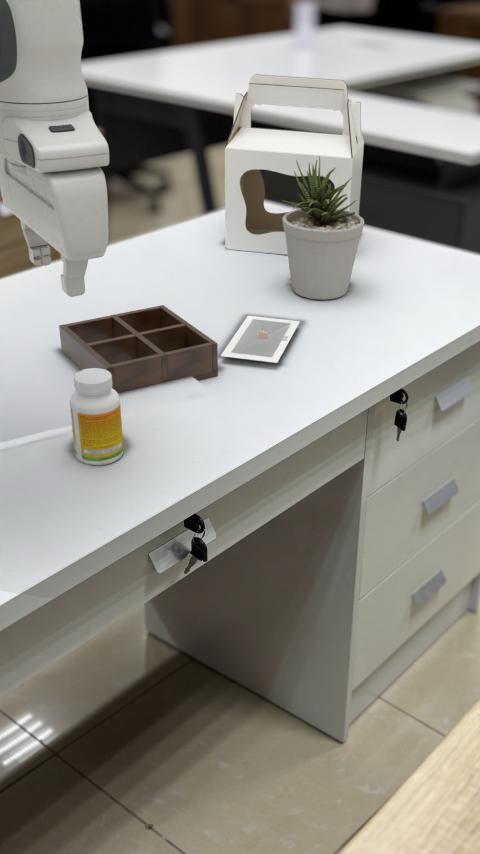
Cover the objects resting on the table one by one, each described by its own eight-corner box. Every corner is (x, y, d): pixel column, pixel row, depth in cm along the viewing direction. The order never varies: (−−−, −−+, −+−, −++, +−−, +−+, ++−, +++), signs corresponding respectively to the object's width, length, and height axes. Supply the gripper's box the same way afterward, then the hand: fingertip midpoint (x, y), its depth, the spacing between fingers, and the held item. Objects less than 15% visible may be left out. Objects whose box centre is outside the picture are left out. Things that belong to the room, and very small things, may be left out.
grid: (109, 402, 117) (107, 368, 115) (62, 357, 128) (58, 325, 125) (218, 375, 124) (217, 343, 122) (164, 335, 135) (163, 304, 133)
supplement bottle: (133, 455, 106) (128, 376, 101) (93, 471, 103) (86, 391, 98) (105, 438, 110) (99, 360, 104) (65, 453, 106) (57, 374, 101)
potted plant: (373, 284, 155) (384, 158, 145) (339, 311, 145) (347, 177, 134) (304, 270, 160) (310, 147, 149) (266, 295, 150) (269, 165, 139)
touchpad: (220, 363, 128) (220, 348, 127) (247, 322, 140) (248, 308, 139) (277, 370, 126) (277, 355, 125) (299, 328, 139) (300, 314, 138)
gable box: (223, 249, 168) (222, 79, 153) (242, 228, 179) (243, 67, 164) (347, 261, 165) (358, 88, 150) (358, 239, 176) (370, 75, 160)
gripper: (-27, 111, 91) (-7, 252, 99) (43, 157, 77) (61, 318, 84) (37, 106, 94) (52, 243, 101) (117, 149, 79) (127, 306, 87)
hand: (56, 278), depth 93 cm, fingers open, 8 cm apart
